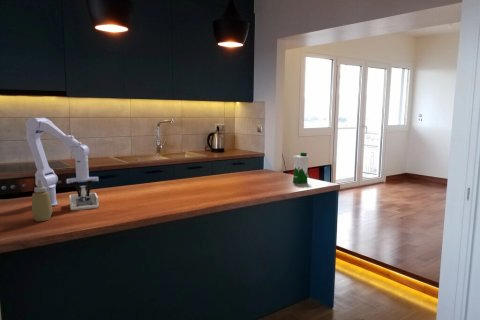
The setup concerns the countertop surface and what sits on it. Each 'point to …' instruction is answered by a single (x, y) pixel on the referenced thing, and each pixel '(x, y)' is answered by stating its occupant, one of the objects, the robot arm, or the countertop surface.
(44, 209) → the squeeze bottle
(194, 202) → the countertop surface
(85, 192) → the steel plug
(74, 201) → the walled box
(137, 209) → the countertop surface
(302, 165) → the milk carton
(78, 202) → the inlet socket
